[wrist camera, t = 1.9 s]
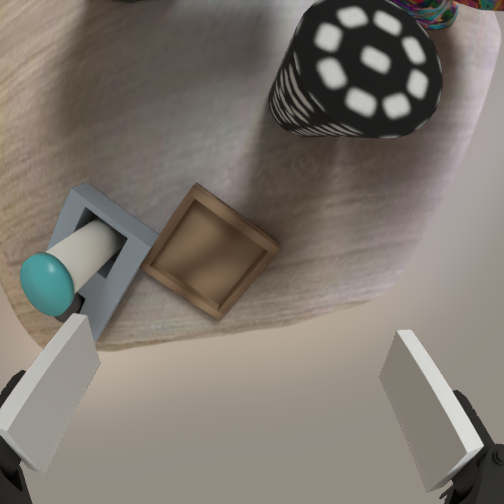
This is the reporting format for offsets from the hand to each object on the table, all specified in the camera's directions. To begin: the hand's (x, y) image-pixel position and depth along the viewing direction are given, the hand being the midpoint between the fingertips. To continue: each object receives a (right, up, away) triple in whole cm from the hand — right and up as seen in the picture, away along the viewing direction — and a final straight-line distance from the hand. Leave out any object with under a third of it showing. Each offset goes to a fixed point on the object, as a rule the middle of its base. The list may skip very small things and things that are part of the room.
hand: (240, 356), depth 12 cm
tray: (-5, +4, +25) cm, 26 cm away
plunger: (-24, -2, +25) cm, 34 cm away
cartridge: (-18, +7, +24) cm, 31 cm away
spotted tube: (+7, +21, +19) cm, 29 cm away
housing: (-21, +3, +25) cm, 33 cm away
